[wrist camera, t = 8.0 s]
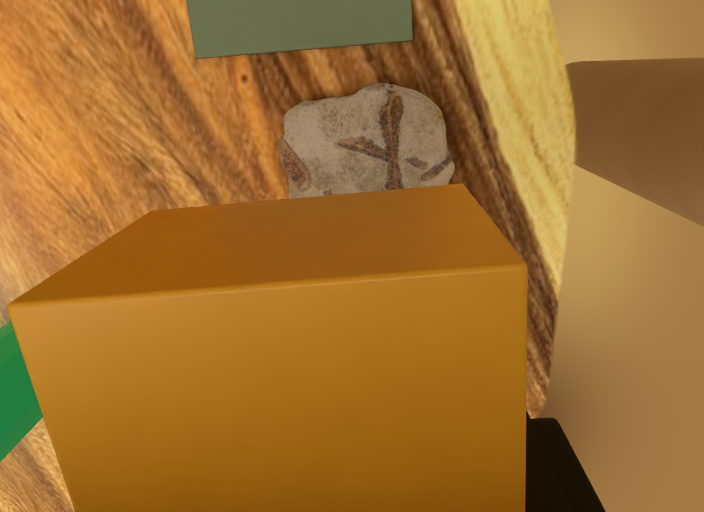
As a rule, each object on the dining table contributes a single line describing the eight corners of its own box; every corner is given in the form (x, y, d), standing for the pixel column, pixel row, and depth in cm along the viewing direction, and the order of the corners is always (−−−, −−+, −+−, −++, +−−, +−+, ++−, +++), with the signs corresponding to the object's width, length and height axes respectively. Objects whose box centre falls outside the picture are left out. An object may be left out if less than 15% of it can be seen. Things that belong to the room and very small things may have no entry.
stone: (436, 69, 30) (441, 68, 27) (456, 195, 32) (463, 206, 30) (270, 107, 31) (261, 110, 28) (301, 227, 33) (295, 240, 31)
